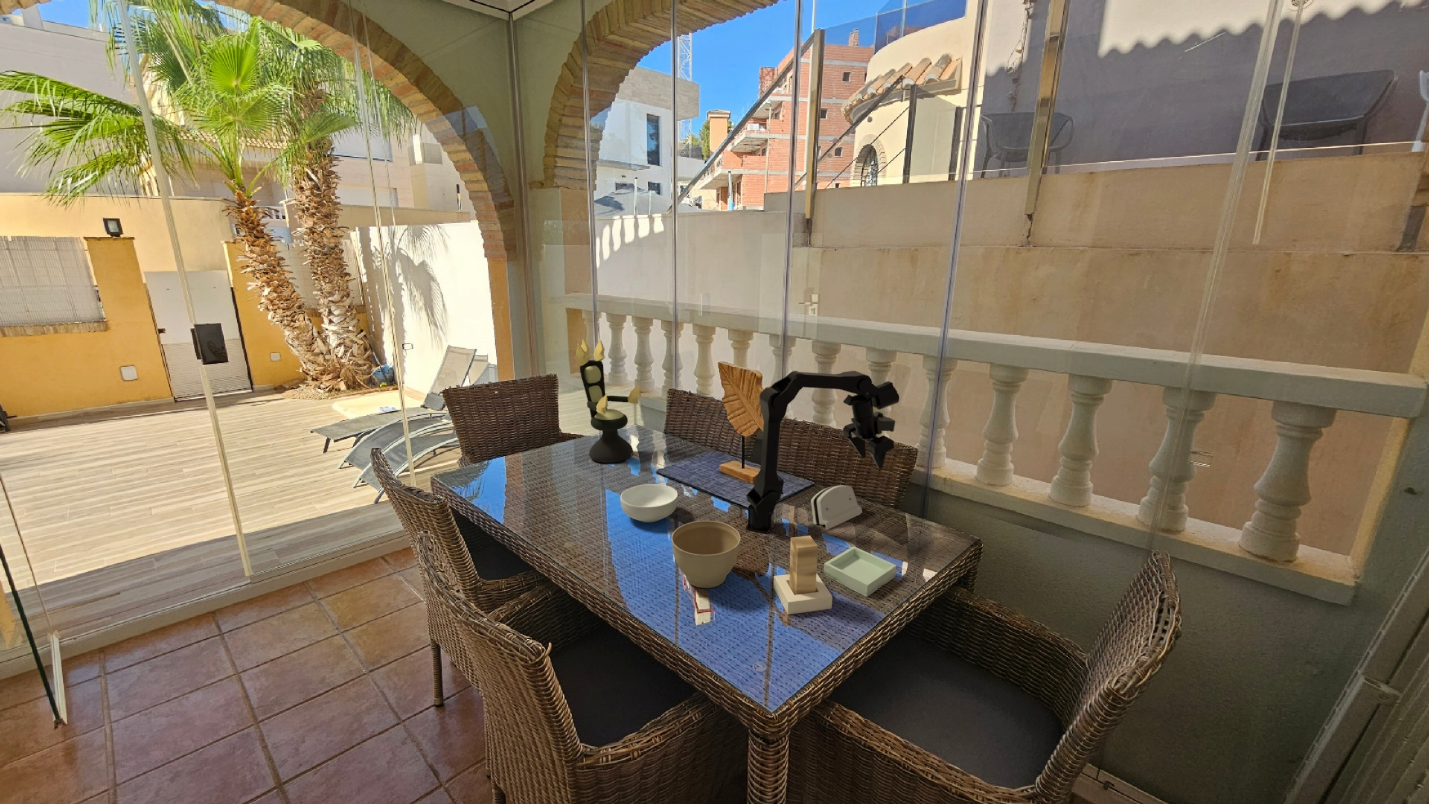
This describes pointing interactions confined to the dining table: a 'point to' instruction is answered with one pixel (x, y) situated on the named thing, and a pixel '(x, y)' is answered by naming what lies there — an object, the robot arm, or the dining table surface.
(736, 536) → the planter bowl
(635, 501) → the cereal bowl
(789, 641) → the dining table surface
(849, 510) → the white napkin holder
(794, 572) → the wooden block
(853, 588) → the tray
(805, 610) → the block
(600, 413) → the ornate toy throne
